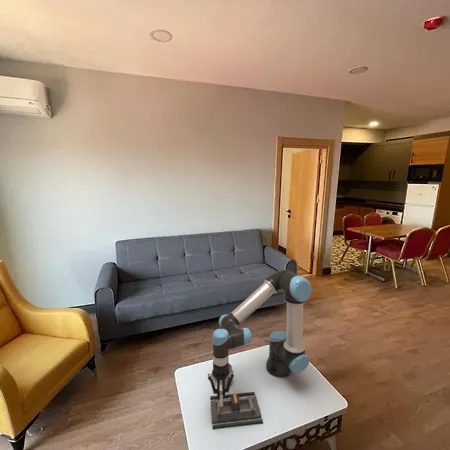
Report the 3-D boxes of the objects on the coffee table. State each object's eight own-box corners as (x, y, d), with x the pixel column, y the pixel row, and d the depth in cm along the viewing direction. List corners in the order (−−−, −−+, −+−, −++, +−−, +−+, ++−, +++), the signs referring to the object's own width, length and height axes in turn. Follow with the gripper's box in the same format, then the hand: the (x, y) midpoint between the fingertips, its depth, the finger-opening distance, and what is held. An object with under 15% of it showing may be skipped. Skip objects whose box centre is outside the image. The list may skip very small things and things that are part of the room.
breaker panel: (255, 398, 137) (255, 393, 137) (261, 418, 126) (261, 413, 125) (210, 403, 135) (210, 397, 134) (212, 424, 123) (212, 418, 122)
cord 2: (262, 421, 124) (262, 419, 124) (263, 423, 123) (263, 421, 123) (212, 427, 121) (212, 424, 121) (212, 429, 120) (212, 427, 120)
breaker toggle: (238, 403, 132) (238, 392, 131) (240, 411, 128) (240, 401, 127) (230, 404, 132) (230, 393, 131) (231, 412, 127) (231, 402, 126)
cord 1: (254, 393, 140) (254, 391, 140) (254, 395, 139) (255, 393, 139) (210, 398, 138) (210, 396, 137) (210, 400, 136) (210, 398, 136)
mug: (234, 386, 146) (234, 367, 144) (213, 389, 143) (213, 370, 141) (231, 376, 153) (231, 357, 151) (211, 379, 151) (211, 360, 149)
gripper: (232, 355, 129) (233, 396, 133) (206, 357, 128) (207, 399, 131) (235, 365, 122) (235, 409, 126) (207, 368, 120) (208, 412, 124)
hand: (221, 404), depth 128 cm, fingers closed
